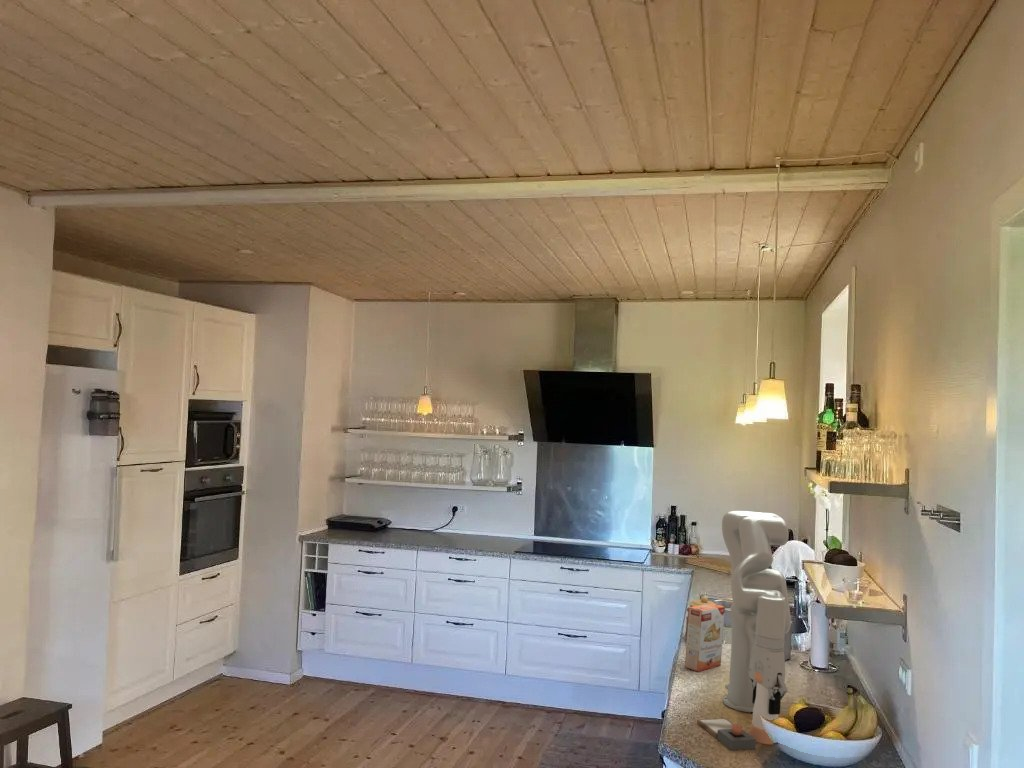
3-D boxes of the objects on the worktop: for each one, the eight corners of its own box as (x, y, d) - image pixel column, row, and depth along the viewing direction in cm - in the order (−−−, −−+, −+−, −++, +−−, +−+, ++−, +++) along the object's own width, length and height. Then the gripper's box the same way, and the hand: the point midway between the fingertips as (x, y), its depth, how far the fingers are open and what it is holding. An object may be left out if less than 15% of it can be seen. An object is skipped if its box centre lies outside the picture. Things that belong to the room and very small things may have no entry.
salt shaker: (747, 739, 207) (751, 667, 208) (754, 731, 213) (757, 661, 214) (774, 747, 203) (778, 673, 204) (781, 738, 209) (785, 667, 210)
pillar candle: (767, 651, 293) (769, 611, 293) (793, 657, 287) (795, 616, 287) (759, 656, 285) (761, 616, 285) (786, 663, 279) (788, 621, 280)
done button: (729, 731, 204) (730, 723, 204) (738, 730, 205) (738, 723, 205) (735, 735, 202) (735, 727, 202) (743, 735, 203) (744, 727, 203)
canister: (706, 649, 290) (709, 601, 290) (678, 640, 299) (680, 594, 300) (725, 643, 298) (728, 598, 299) (697, 635, 308) (699, 590, 309)
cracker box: (698, 672, 261) (702, 610, 262) (684, 667, 265) (687, 606, 266) (722, 666, 270) (725, 606, 271) (707, 661, 275) (711, 602, 275)
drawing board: (697, 723, 216) (697, 719, 216) (725, 721, 218) (725, 717, 218) (716, 738, 206) (716, 734, 206) (745, 736, 209) (745, 732, 209)
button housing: (717, 739, 206) (717, 729, 206) (740, 737, 208) (740, 728, 208) (731, 750, 199) (732, 740, 199) (755, 749, 201) (755, 739, 201)
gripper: (739, 632, 216) (735, 697, 216) (777, 652, 200) (773, 722, 199) (762, 632, 219) (758, 696, 218) (801, 651, 202) (798, 720, 201)
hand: (765, 708), depth 208 cm, fingers open, 6 cm apart
